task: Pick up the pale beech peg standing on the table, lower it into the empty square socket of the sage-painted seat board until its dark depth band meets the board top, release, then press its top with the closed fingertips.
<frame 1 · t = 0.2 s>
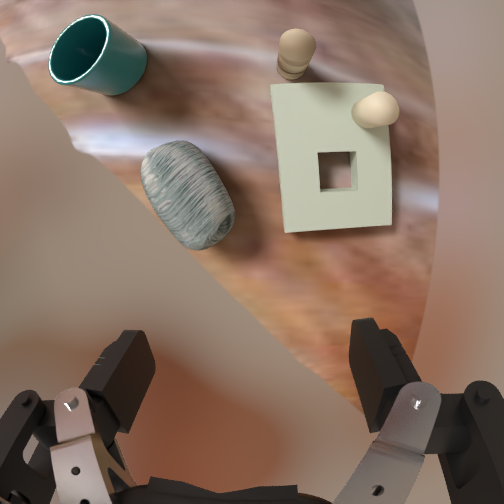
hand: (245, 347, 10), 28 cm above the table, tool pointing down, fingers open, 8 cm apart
peg: (291, 67, 31), on the table
seat board: (331, 154, 34), on the table
spool: (195, 189, 37), on the table
cup: (115, 62, 31), on the table
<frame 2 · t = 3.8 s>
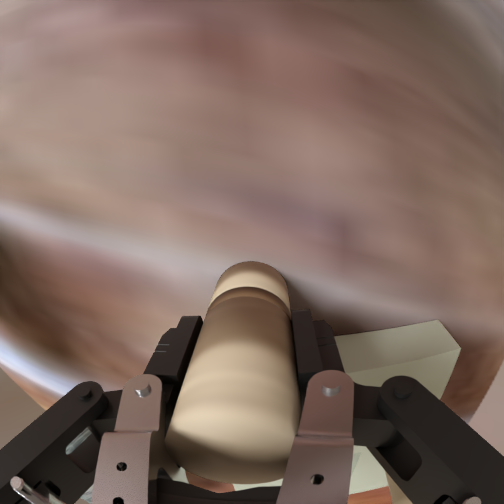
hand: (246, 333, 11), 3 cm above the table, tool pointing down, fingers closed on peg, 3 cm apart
peg: (251, 295, 14), on the table, touching gripper
seat board: (322, 428, 18), on the table
spool: (119, 435, 21), on the table
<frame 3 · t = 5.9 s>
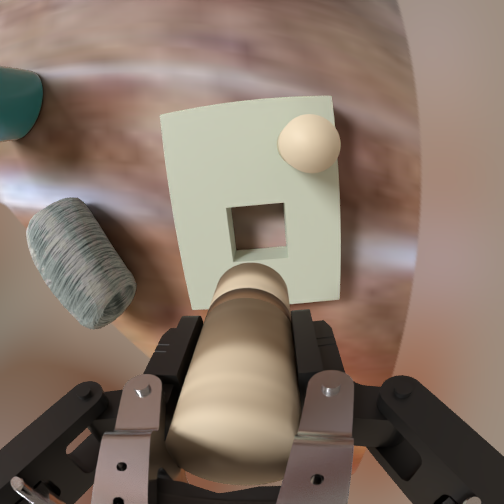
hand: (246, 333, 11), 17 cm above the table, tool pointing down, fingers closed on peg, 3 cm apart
peg: (251, 296, 14), point 14 cm above the table, touching gripper
seat board: (256, 203, 26), on the table
spool: (98, 249, 29), on the table
cup: (19, 99, 23), on the table
when the fingers open (5 cm above the table, at t = 8.5 s): peg drops 1 cm, resting in seat board.
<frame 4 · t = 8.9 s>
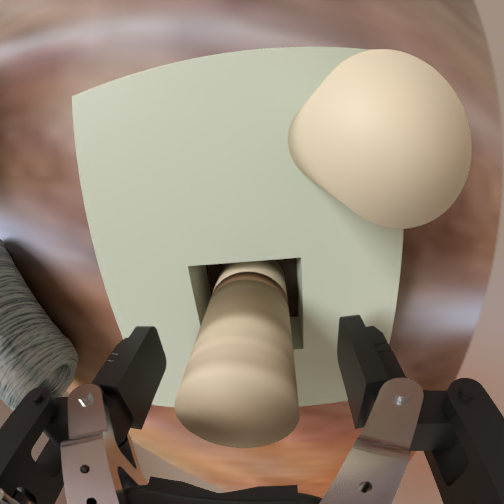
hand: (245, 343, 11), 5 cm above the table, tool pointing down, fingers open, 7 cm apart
peg: (251, 282, 16), resting in seat board
seat board: (248, 247, 15), on the table
spool: (30, 300, 18), on the table
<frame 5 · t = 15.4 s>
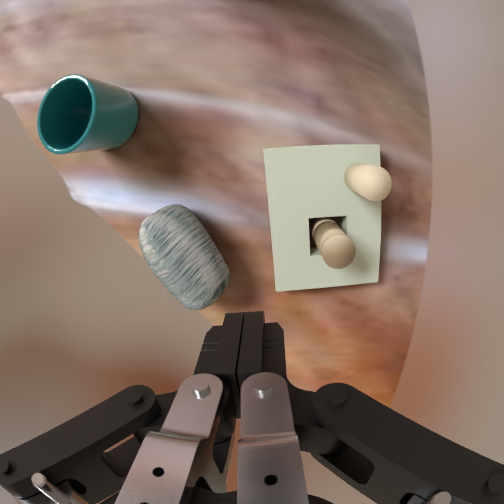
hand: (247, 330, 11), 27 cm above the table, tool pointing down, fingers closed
peg: (323, 229, 37), resting in seat board
seat board: (323, 214, 37), on the table
spool: (191, 246, 40), on the table
cup: (106, 112, 33), on the table
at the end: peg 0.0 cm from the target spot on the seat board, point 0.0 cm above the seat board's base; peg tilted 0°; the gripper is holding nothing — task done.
